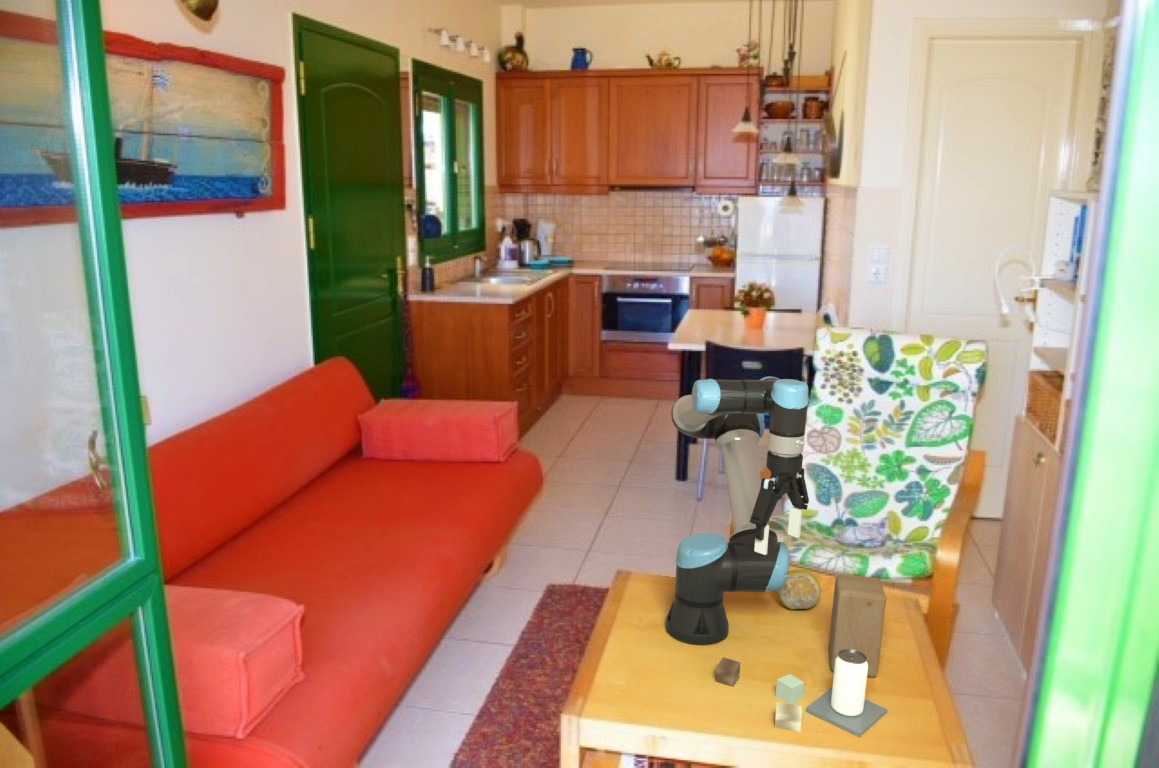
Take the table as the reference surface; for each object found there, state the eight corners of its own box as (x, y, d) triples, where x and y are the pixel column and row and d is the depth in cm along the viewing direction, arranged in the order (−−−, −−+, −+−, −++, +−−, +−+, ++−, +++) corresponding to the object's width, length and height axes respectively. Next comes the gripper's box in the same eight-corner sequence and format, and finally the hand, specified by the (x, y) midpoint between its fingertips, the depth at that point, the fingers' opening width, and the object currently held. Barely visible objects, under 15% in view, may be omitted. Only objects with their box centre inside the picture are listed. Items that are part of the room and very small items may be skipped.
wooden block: (877, 679, 194) (887, 596, 190) (830, 673, 196) (839, 591, 192) (872, 656, 204) (881, 576, 199) (827, 650, 206) (835, 571, 201)
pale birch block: (774, 728, 176) (776, 710, 175) (775, 719, 179) (776, 702, 178) (800, 732, 175) (802, 714, 174) (800, 723, 178) (802, 706, 177)
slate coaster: (805, 711, 182) (805, 707, 182) (834, 688, 190) (834, 685, 190) (859, 737, 174) (859, 733, 173) (886, 712, 182) (887, 709, 182)
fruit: (770, 599, 230) (773, 564, 228) (809, 598, 232) (813, 563, 229) (783, 618, 220) (786, 581, 218) (824, 617, 222) (828, 580, 219)
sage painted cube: (775, 696, 187) (777, 679, 186) (788, 690, 189) (789, 673, 188) (790, 705, 184) (791, 688, 183) (802, 699, 186) (804, 682, 185)
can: (844, 720, 178) (850, 667, 175) (823, 703, 183) (829, 651, 181) (869, 713, 180) (876, 660, 177) (848, 696, 186) (854, 645, 183)
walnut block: (715, 682, 192) (716, 665, 191) (721, 673, 195) (723, 657, 194) (733, 687, 190) (734, 670, 189) (739, 678, 193) (740, 662, 192)
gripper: (768, 468, 178) (761, 565, 182) (829, 444, 195) (821, 534, 200) (737, 459, 183) (730, 554, 187) (799, 437, 200) (792, 524, 205)
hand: (777, 544), depth 194 cm, fingers open, 13 cm apart
